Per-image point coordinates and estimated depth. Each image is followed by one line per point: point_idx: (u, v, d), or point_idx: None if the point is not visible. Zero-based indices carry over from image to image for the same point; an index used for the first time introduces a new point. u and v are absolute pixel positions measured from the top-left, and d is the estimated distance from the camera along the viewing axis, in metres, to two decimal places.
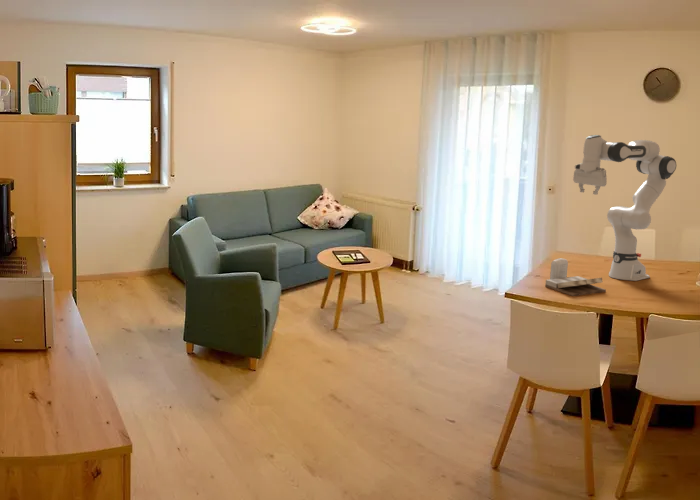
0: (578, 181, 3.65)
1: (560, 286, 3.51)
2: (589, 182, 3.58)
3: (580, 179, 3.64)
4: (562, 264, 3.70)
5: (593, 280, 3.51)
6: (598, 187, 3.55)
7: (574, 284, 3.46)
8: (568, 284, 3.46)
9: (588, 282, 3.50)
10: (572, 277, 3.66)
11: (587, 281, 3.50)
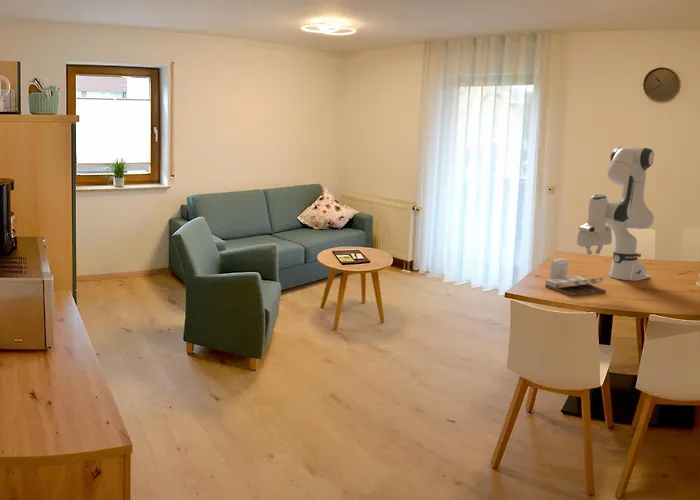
0: (588, 244, 3.46)
1: (560, 286, 3.51)
2: (599, 243, 3.49)
3: (590, 242, 3.46)
4: (562, 264, 3.70)
5: (593, 280, 3.51)
6: None
7: (574, 284, 3.46)
8: (568, 284, 3.46)
9: (588, 282, 3.50)
10: (572, 277, 3.66)
11: (587, 281, 3.50)
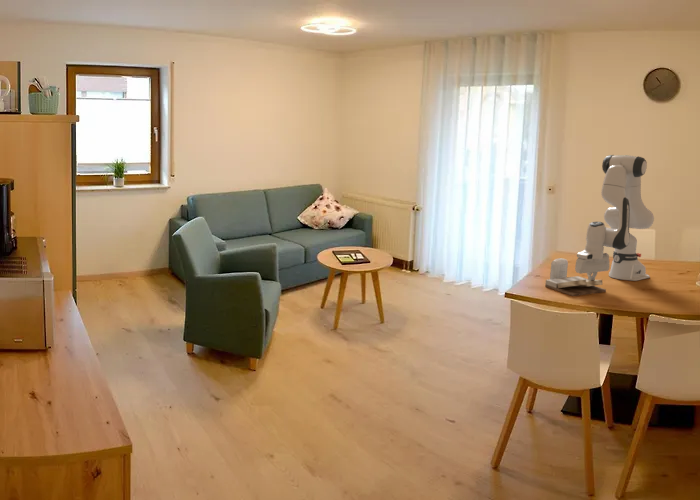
0: (586, 271, 3.48)
1: (560, 286, 3.51)
2: (597, 269, 3.51)
3: (588, 268, 3.48)
4: (562, 264, 3.70)
5: (593, 282, 3.51)
6: None
7: (574, 284, 3.46)
8: (568, 284, 3.46)
9: (588, 284, 3.50)
10: (572, 277, 3.66)
11: (587, 283, 3.50)
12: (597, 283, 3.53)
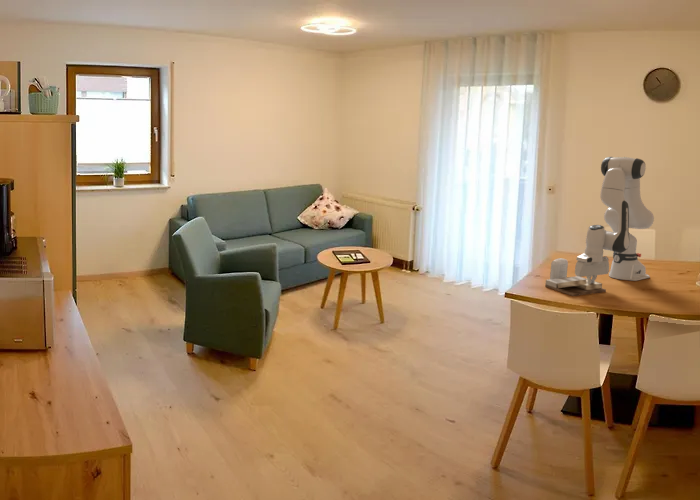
0: (585, 274, 3.48)
1: (560, 286, 3.51)
2: (597, 273, 3.52)
3: (588, 272, 3.49)
4: (562, 264, 3.70)
5: (593, 286, 3.52)
6: None
7: (574, 284, 3.46)
8: (568, 284, 3.46)
9: (587, 288, 3.50)
10: (572, 277, 3.66)
11: (587, 287, 3.50)
12: (596, 287, 3.53)
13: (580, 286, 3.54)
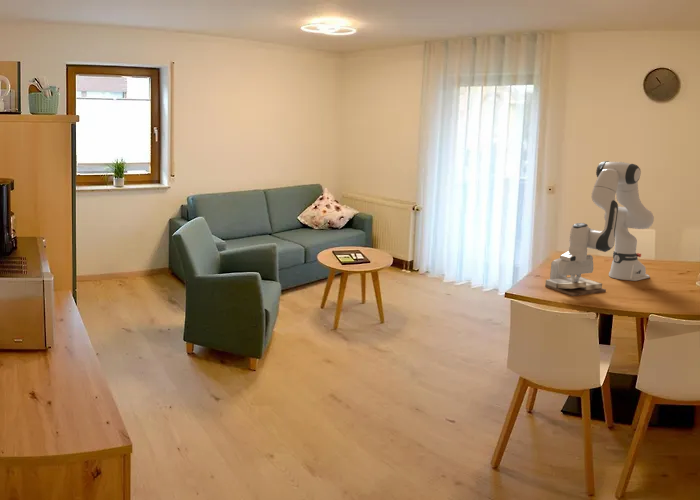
0: (569, 273, 3.43)
1: (560, 287, 3.51)
2: (581, 271, 3.47)
3: (571, 271, 3.44)
4: None
5: (593, 286, 3.52)
6: None
7: (574, 287, 3.46)
8: (568, 286, 3.46)
9: (587, 288, 3.50)
10: None
11: (587, 287, 3.50)
12: (596, 287, 3.53)
13: None
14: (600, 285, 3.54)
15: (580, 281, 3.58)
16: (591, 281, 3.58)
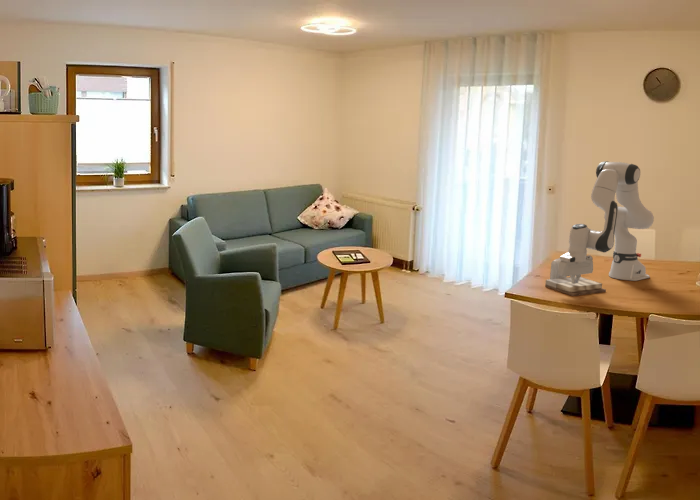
0: (568, 274, 3.44)
1: (559, 287, 3.52)
2: (581, 272, 3.47)
3: (571, 271, 3.45)
4: None
5: (593, 286, 3.52)
6: None
7: (573, 290, 3.47)
8: (568, 289, 3.46)
9: (587, 288, 3.50)
10: None
11: (587, 287, 3.50)
12: (596, 287, 3.53)
13: None
14: (600, 285, 3.54)
15: (580, 281, 3.58)
16: (591, 281, 3.58)
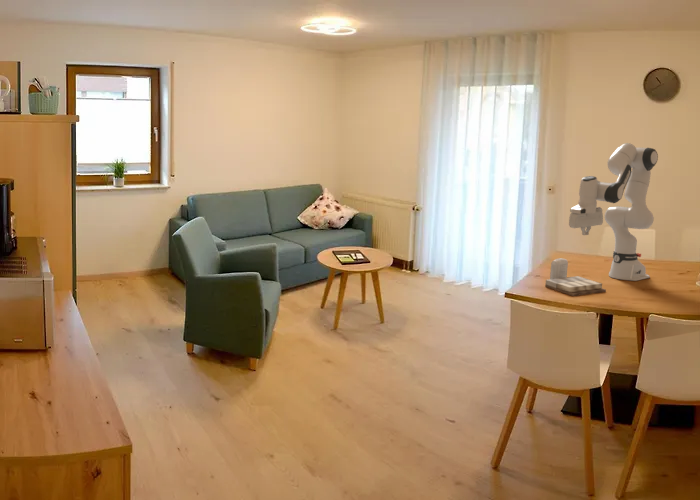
0: (579, 225, 3.51)
1: (559, 287, 3.52)
2: (591, 224, 3.55)
3: (581, 223, 3.52)
4: (562, 264, 3.70)
5: (593, 286, 3.52)
6: None
7: (573, 290, 3.47)
8: (568, 289, 3.46)
9: (587, 288, 3.50)
10: (572, 277, 3.66)
11: (587, 287, 3.50)
12: (596, 287, 3.53)
13: None
14: (600, 285, 3.54)
15: (580, 281, 3.58)
16: (591, 281, 3.58)
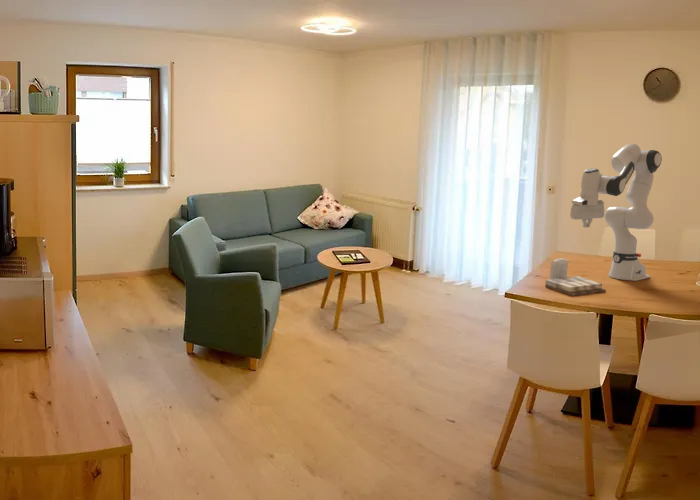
0: (581, 217, 3.53)
1: (559, 287, 3.52)
2: (592, 216, 3.57)
3: (583, 215, 3.54)
4: (562, 264, 3.70)
5: (593, 286, 3.52)
6: None
7: (573, 290, 3.47)
8: (568, 289, 3.46)
9: (587, 288, 3.50)
10: (572, 277, 3.66)
11: (587, 287, 3.50)
12: (596, 287, 3.53)
13: None
14: (600, 285, 3.54)
15: (580, 281, 3.58)
16: (591, 281, 3.58)
